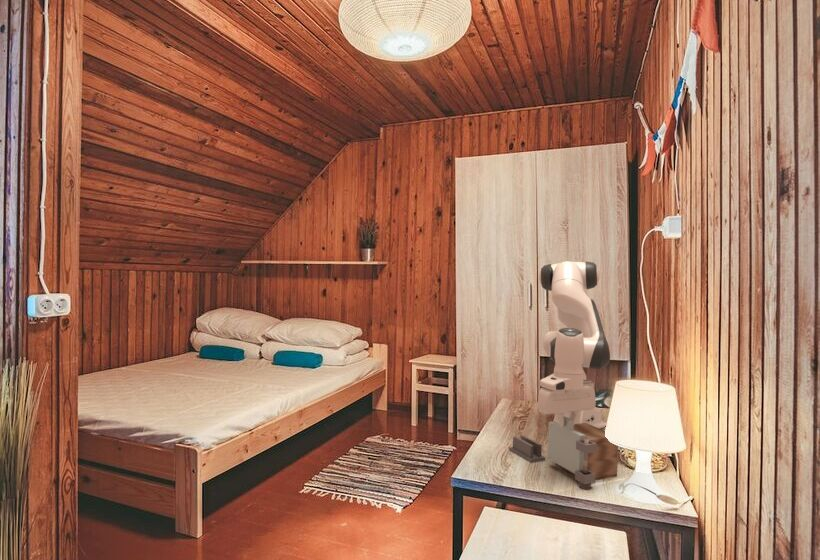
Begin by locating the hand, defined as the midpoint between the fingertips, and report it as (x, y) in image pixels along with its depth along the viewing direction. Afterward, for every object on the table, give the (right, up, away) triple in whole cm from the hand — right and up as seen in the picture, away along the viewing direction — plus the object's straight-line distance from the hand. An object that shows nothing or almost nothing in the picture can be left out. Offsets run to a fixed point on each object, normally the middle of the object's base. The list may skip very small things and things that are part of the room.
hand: (566, 425), depth 152 cm
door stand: (-9, -15, +15) cm, 23 cm away
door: (0, -14, -1) cm, 14 cm away
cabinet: (+6, -16, +1) cm, 17 cm away
